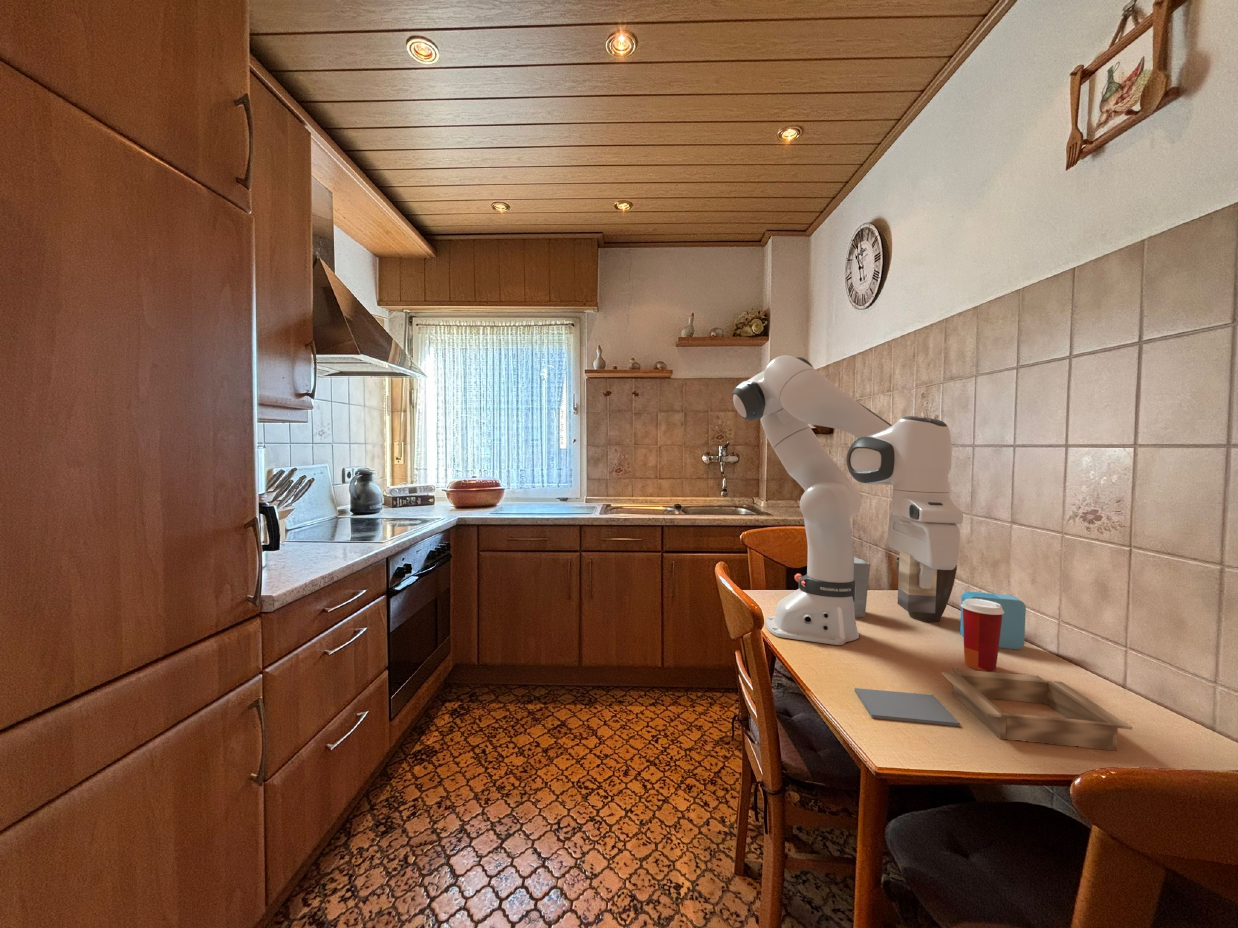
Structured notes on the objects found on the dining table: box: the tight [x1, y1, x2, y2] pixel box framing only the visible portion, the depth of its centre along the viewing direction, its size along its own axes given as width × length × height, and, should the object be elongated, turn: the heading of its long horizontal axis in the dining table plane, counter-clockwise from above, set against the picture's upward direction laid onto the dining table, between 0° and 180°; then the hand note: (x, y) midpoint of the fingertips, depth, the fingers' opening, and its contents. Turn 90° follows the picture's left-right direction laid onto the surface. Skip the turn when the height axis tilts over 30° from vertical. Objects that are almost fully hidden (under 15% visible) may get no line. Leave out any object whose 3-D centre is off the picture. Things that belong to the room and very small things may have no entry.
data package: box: [959, 591, 1027, 651], centre depth 123 cm, size 12×4×12 cm, turn 72°
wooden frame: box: [941, 668, 1133, 752], centre depth 89 cm, size 21×18×4 cm
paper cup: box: [960, 599, 1004, 672], centre depth 110 cm, size 8×8×14 cm
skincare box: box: [854, 556, 871, 618], centre depth 146 cm, size 8×7×16 cm
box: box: [897, 550, 937, 613], centre depth 91 cm, size 4×4×10 cm
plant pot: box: [895, 557, 958, 623], centre depth 142 cm, size 15×15×16 cm
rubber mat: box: [854, 687, 961, 727], centre depth 91 cm, size 14×10×1 cm
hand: (916, 583), depth 91 cm, fingers closed on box, 4 cm apart
